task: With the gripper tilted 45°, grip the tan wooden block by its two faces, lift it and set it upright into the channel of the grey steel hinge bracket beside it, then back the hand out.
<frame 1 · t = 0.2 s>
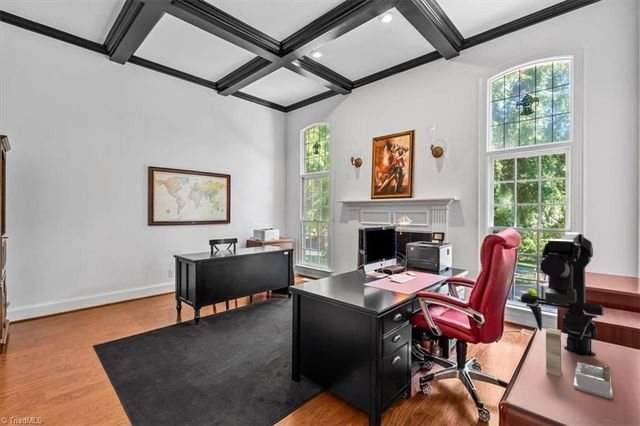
hand: (559, 334, 88), 15 cm above the table, tool pointing down, fingers open, 9 cm apart
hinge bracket: (592, 383, 90), on the table
tan wooden block: (553, 371, 97), on the table
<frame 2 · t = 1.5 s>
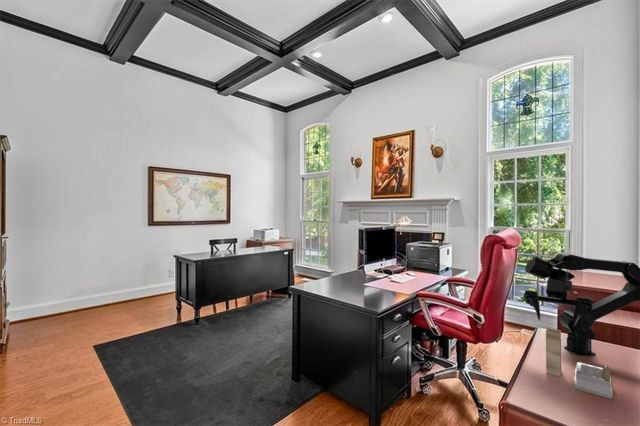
hand: (555, 322, 103), 13 cm above the table, tool tilted 45°, fingers open, 9 cm apart
nothing on the table moved.
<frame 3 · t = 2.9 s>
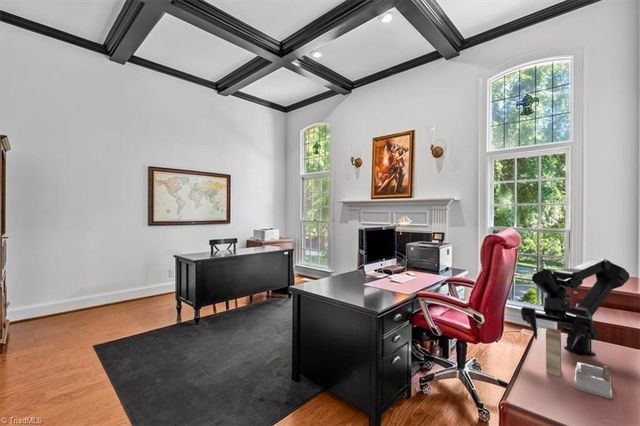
hand: (553, 342, 98), 9 cm above the table, tool tilted 45°, fingers open, 9 cm apart
nothing on the table moved.
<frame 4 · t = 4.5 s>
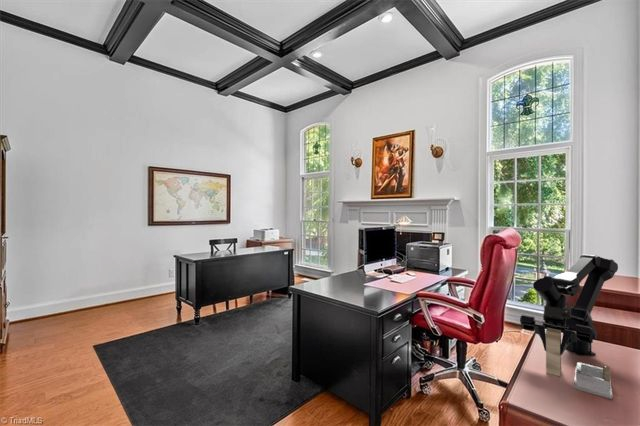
hand: (553, 352, 96), 7 cm above the table, tool tilted 45°, fingers closed on tan wooden block, 3 cm apart
tan wooden block: (553, 371, 97), on the table, touching gripper
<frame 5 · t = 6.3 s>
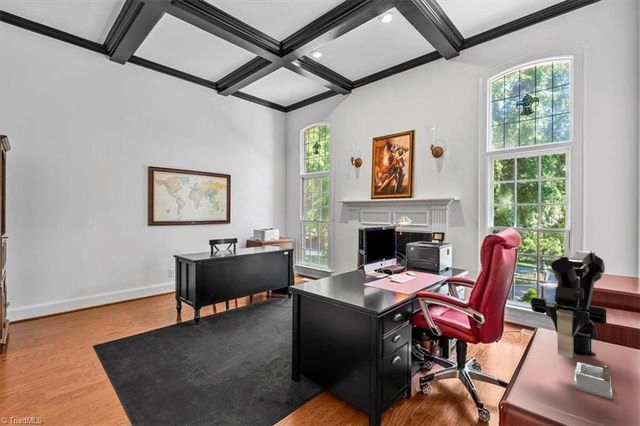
hand: (564, 333, 94), 13 cm above the table, tool tilted 45°, fingers closed on tan wooden block, 3 cm apart
tan wooden block: (565, 353, 95), point 7 cm above the table, touching gripper
when the fingers open (9 cm above the table, at t = 8.1 s): tan wooden block drops 1 cm, resting on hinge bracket.
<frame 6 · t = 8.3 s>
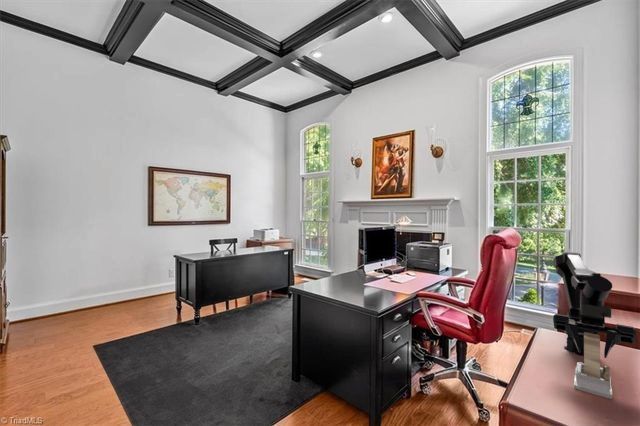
hand: (592, 354, 89), 9 cm above the table, tool tilted 45°, fingers open, 5 cm apart
tan wooden block: (592, 379, 90), point 1 cm above the table, touching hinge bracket
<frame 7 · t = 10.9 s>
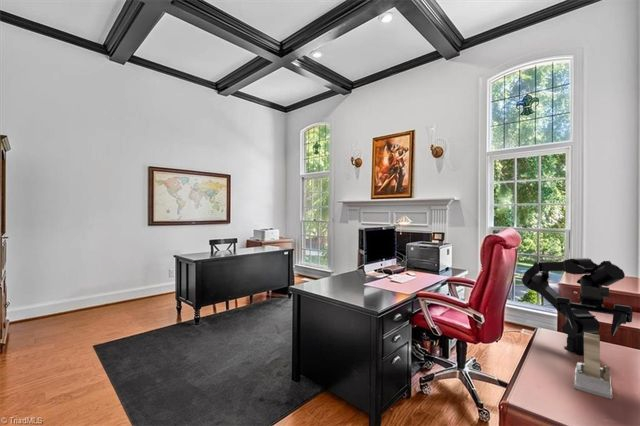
hand: (592, 332, 96), 13 cm above the table, tool tilted 45°, fingers open, 9 cm apart
nothing on the table moved.
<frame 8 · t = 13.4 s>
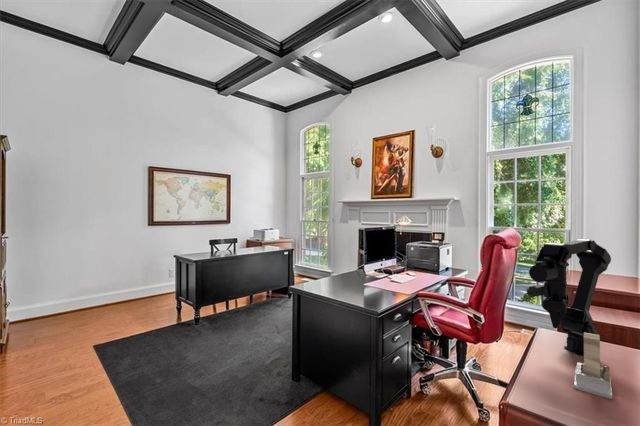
hand: (556, 324, 105), 12 cm above the table, tool pointing down, fingers open, 9 cm apart
nothing on the table moved.
at the end: tan wooden block 0.1 cm off-centre on the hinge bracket, point 1.0 cm above the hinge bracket's base; tan wooden block tilted 0°; the gripper is holding nothing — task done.
